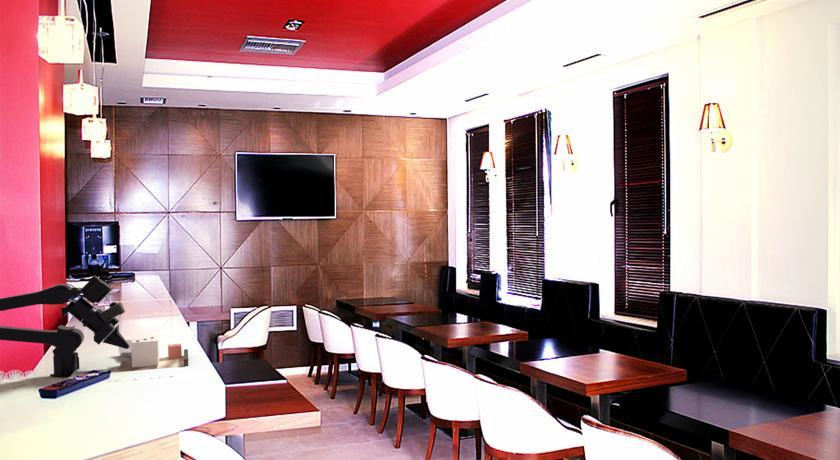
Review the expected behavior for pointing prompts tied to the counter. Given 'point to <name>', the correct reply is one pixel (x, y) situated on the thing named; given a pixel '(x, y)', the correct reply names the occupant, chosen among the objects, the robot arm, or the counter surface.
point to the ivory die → (145, 352)
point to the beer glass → (126, 350)
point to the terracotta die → (174, 351)
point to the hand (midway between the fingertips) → (128, 347)
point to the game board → (163, 363)
